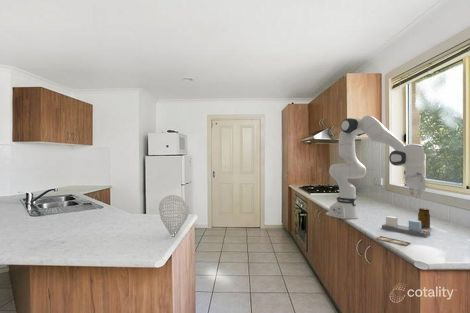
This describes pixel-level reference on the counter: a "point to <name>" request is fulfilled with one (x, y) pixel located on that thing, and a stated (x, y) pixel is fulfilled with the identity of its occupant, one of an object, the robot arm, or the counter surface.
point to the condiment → (424, 217)
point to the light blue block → (414, 225)
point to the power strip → (407, 230)
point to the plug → (392, 221)
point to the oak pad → (393, 241)
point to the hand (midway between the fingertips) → (415, 196)
